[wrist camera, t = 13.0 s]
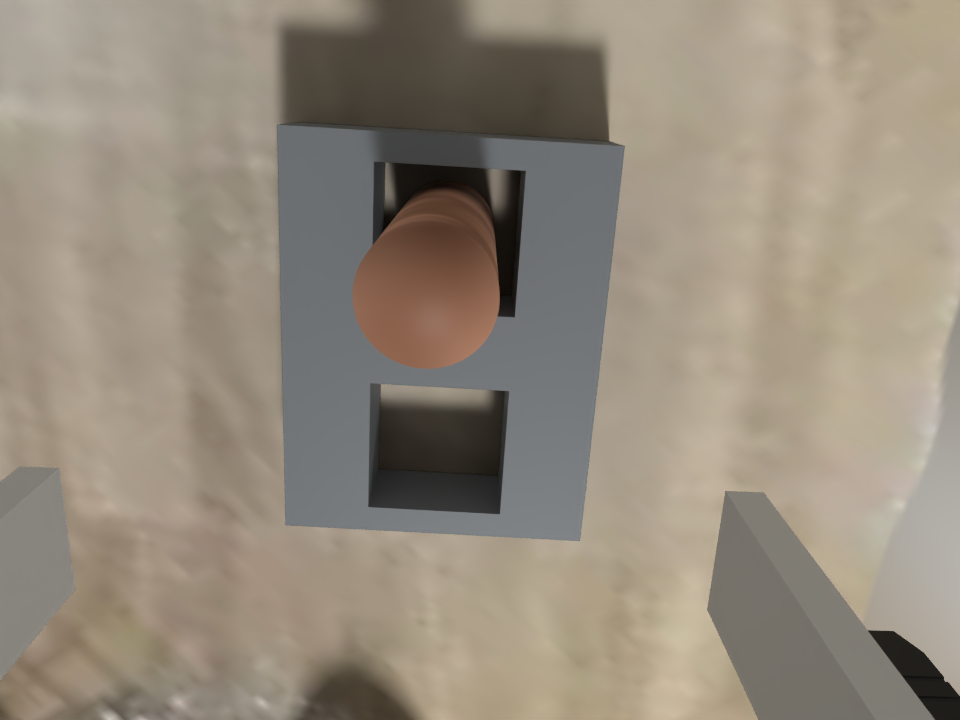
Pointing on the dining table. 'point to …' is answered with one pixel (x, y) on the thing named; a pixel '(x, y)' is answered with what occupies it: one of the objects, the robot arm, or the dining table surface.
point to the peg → (431, 279)
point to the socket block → (493, 366)
